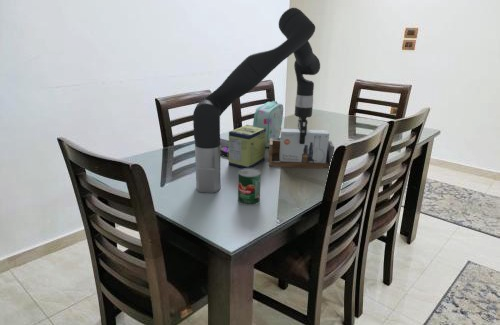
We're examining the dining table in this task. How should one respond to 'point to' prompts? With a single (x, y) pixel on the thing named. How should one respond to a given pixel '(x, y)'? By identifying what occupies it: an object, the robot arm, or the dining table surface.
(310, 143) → the skincare box
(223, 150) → the box
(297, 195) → the dining table surface
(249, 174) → the canned tomato
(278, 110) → the lunch box
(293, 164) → the shelf
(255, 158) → the protein box
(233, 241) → the dining table surface
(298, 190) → the dining table surface
